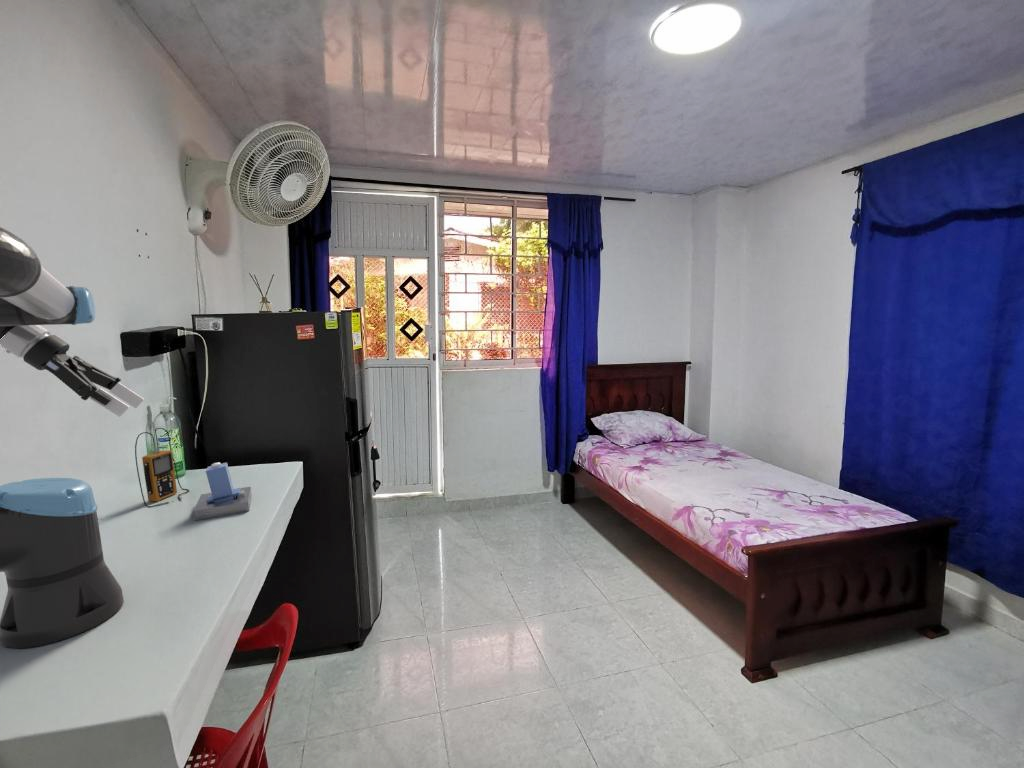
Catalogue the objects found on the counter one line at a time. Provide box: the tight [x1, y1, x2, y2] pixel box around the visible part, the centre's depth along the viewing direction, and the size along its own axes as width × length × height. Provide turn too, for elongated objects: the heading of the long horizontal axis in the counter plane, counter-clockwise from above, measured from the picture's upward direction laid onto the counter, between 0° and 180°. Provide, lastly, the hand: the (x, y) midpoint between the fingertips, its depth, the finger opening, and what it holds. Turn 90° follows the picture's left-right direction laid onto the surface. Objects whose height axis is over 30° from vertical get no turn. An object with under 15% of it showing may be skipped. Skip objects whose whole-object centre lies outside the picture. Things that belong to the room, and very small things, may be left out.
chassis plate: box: [193, 486, 253, 521], centre depth 132 cm, size 14×12×3 cm
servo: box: [205, 461, 241, 503], centre depth 131 cm, size 4×8×12 cm, turn 115°
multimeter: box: [134, 427, 190, 508], centre depth 140 cm, size 15×10×20 cm
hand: (133, 407), depth 114 cm, fingers open, 13 cm apart
